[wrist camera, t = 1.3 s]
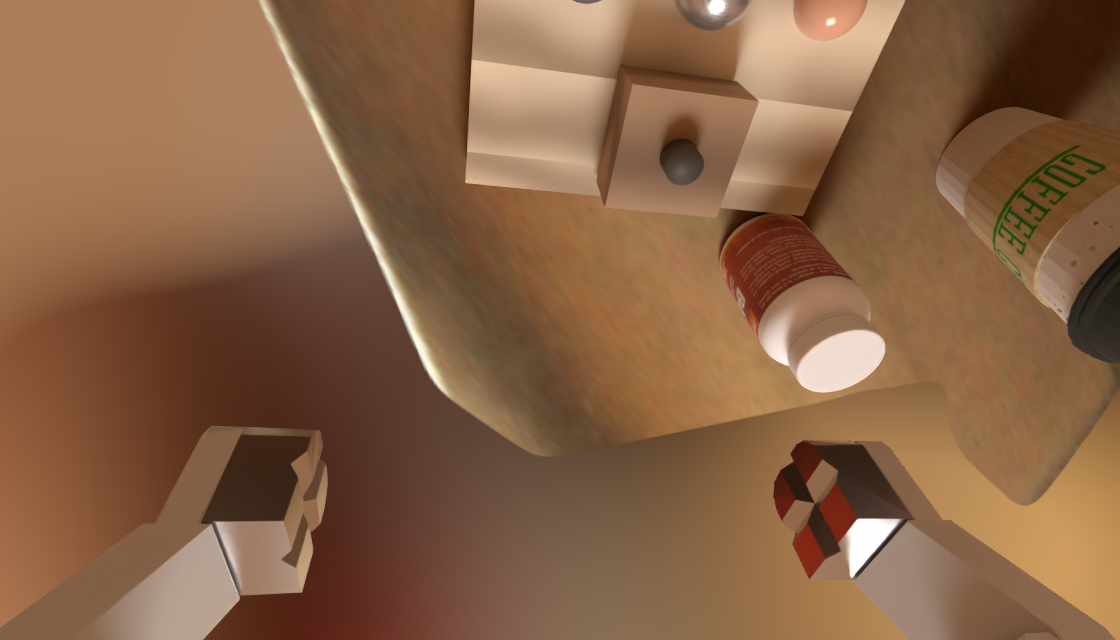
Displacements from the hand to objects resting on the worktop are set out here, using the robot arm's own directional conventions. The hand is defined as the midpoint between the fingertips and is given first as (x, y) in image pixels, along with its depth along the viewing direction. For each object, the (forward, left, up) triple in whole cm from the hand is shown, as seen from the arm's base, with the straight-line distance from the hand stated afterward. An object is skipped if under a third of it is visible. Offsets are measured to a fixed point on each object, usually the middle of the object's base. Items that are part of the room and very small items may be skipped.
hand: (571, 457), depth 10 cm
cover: (+2, +8, -22) cm, 23 cm away
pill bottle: (+10, +18, -25) cm, 32 cm away
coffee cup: (+2, +30, -25) cm, 39 cm away
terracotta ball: (-5, +13, -21) cm, 25 cm away
